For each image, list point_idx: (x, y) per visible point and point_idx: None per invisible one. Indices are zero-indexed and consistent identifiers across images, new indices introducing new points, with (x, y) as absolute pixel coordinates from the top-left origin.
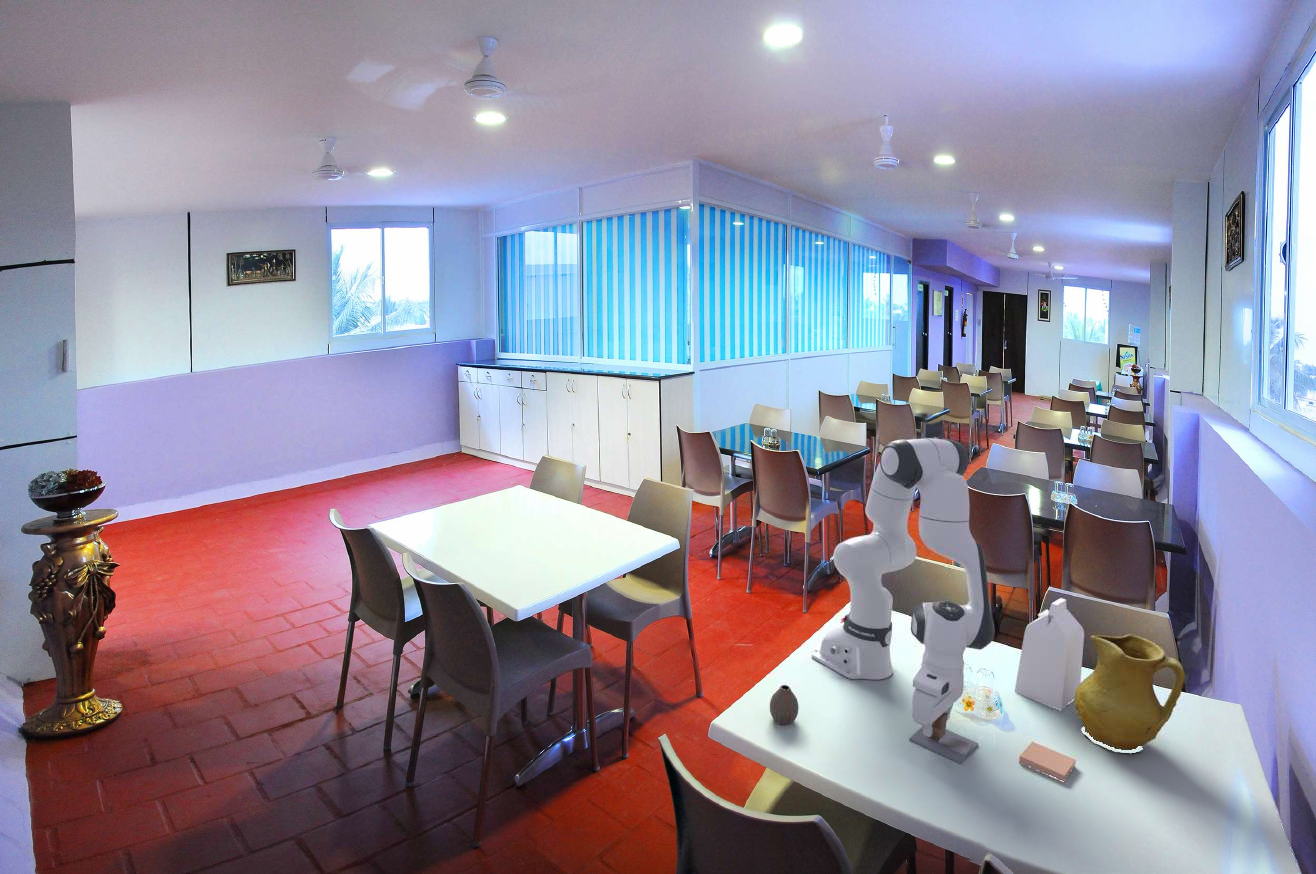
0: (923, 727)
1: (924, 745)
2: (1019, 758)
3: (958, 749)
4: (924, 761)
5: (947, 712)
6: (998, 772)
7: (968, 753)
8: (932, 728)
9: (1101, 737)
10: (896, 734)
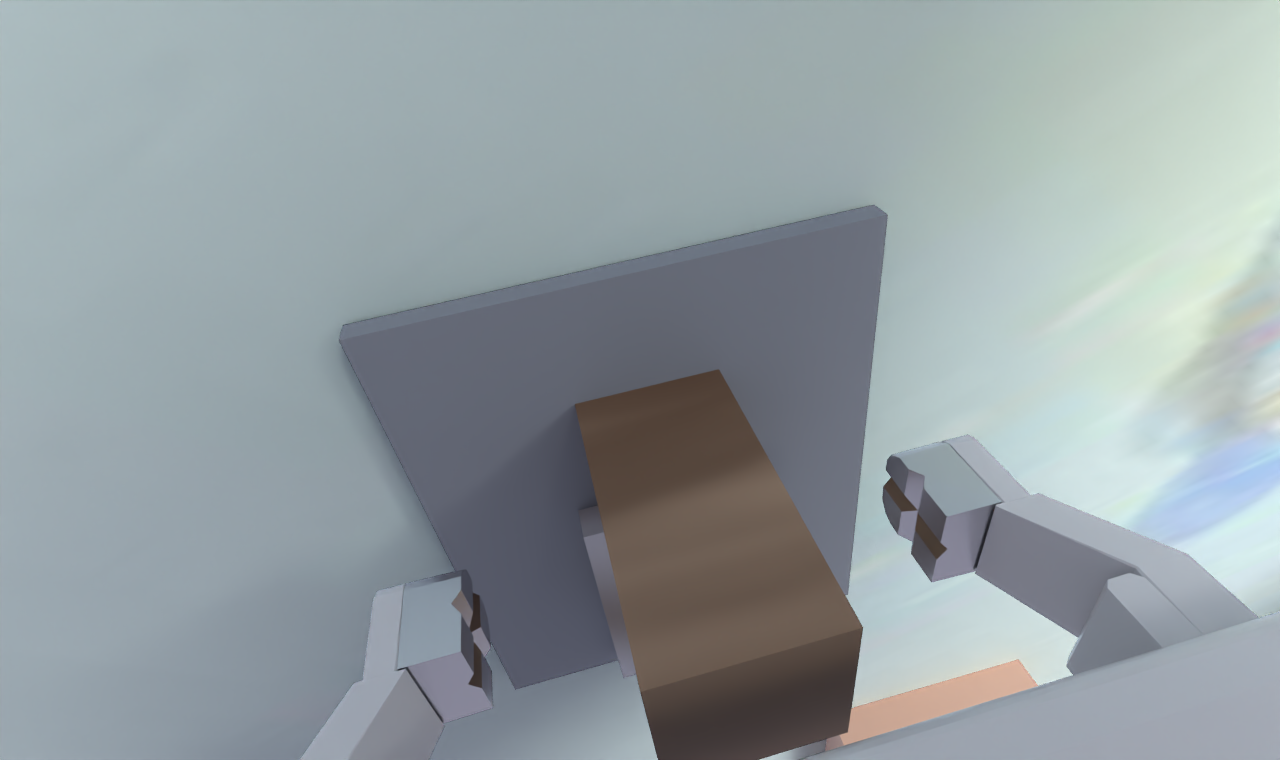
0: (354, 687)
1: (414, 481)
2: (843, 743)
3: (615, 644)
4: (225, 595)
5: (984, 560)
6: (650, 743)
7: None
8: (471, 710)
9: None
10: (254, 144)
